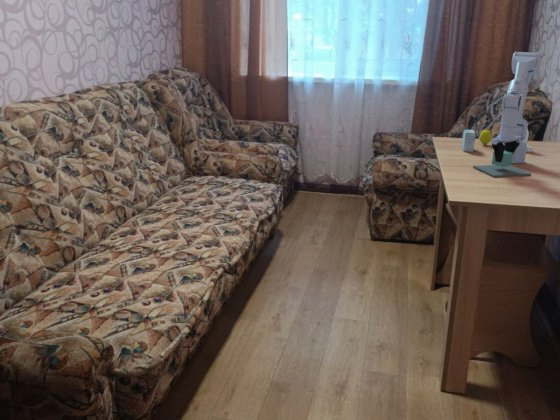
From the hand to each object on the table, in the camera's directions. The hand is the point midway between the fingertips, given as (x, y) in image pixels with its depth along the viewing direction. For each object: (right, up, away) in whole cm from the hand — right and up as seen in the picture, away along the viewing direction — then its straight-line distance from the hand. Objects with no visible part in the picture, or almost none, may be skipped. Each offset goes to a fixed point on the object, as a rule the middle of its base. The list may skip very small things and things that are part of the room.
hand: (502, 160), depth 208 cm
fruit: (+11, +12, +46) cm, 49 cm away
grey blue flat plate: (0, -4, +1) cm, 4 cm away
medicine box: (-1, +8, +36) cm, 37 cm away
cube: (0, -1, +1) cm, 2 cm away
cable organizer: (+23, +8, +38) cm, 45 cm away
